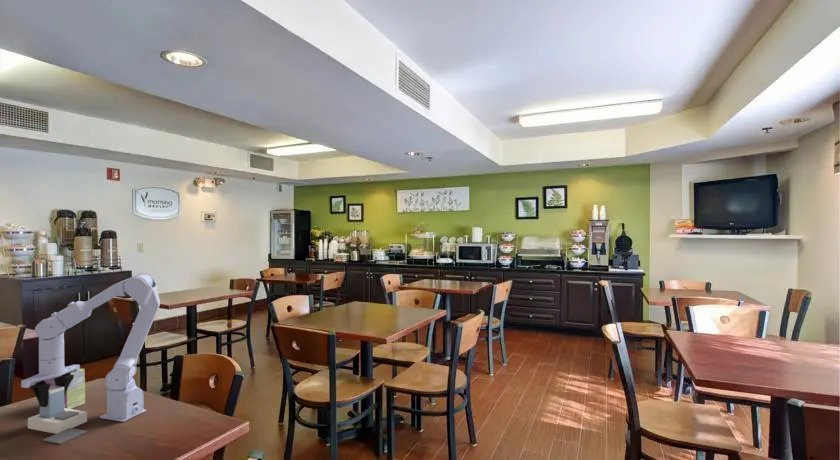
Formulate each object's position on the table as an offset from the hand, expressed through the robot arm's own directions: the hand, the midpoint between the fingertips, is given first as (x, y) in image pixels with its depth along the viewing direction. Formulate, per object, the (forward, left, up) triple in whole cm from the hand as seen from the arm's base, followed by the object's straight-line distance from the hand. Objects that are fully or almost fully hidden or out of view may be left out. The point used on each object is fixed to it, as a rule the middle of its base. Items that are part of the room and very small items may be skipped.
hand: (52, 403), depth 126 cm
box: (+10, -10, -6) cm, 16 cm away
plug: (0, 0, -4) cm, 4 cm away
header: (-2, 0, -6) cm, 7 cm away
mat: (-12, +5, -6) cm, 14 cm away
